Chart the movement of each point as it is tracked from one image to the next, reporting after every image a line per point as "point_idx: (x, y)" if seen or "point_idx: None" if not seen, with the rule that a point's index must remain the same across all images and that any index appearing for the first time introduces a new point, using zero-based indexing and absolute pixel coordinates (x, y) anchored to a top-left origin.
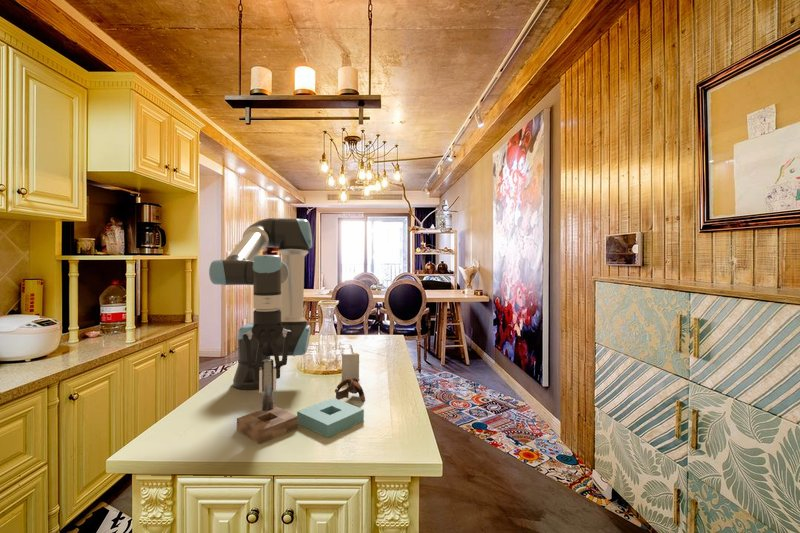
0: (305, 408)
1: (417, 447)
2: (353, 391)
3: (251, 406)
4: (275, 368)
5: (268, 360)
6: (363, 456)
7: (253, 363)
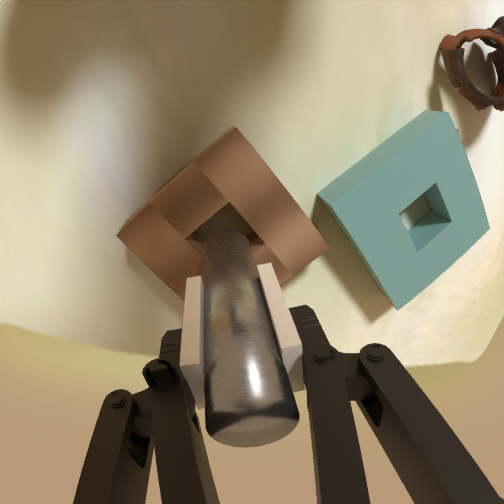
0: (359, 185)
1: (485, 328)
2: (502, 109)
3: (133, 24)
4: (300, 385)
5: (259, 421)
6: (415, 356)
7: (148, 423)
